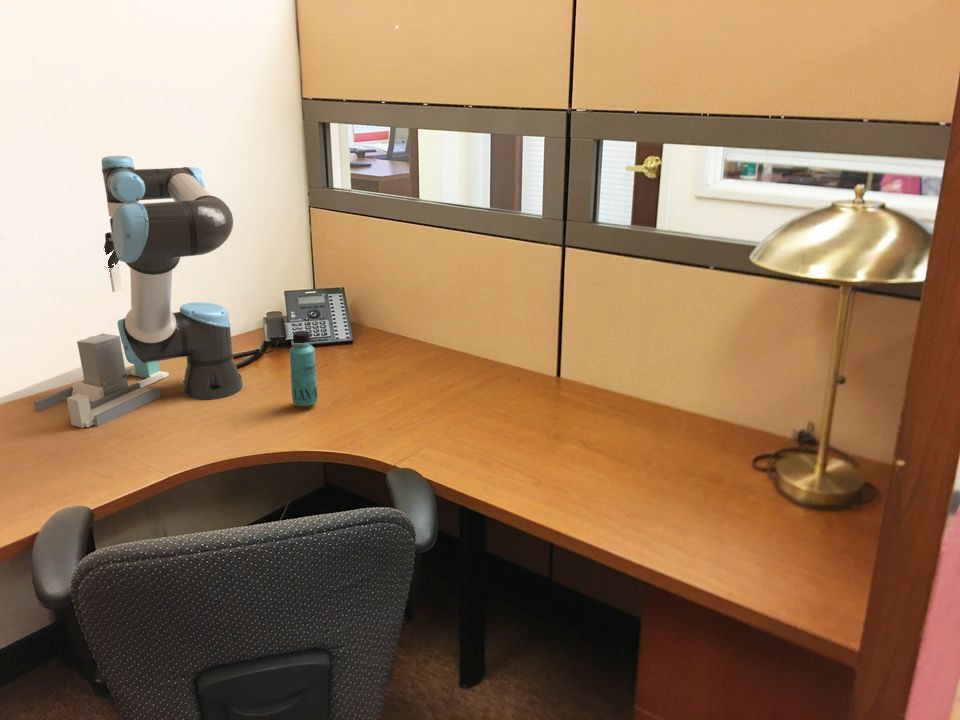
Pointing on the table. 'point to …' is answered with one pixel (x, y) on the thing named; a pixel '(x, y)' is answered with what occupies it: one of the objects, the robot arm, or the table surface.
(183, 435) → the table surface
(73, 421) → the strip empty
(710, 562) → the table surface
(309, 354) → the beverage bottle
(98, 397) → the white and teal frame
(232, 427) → the table surface
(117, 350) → the skincare box
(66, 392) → the lane bed
